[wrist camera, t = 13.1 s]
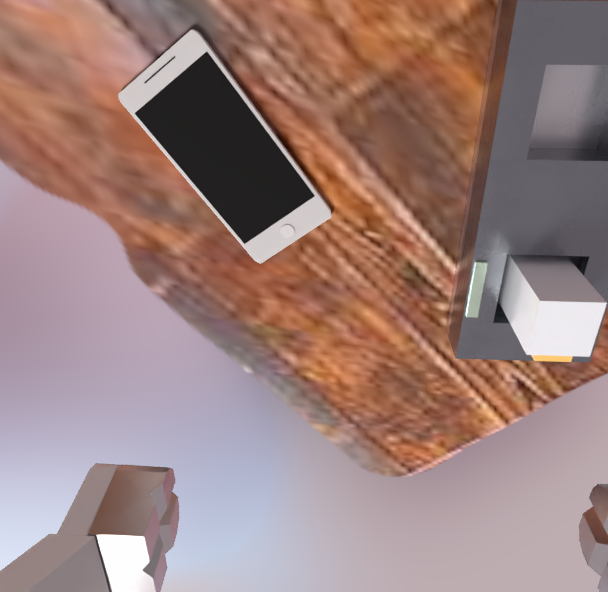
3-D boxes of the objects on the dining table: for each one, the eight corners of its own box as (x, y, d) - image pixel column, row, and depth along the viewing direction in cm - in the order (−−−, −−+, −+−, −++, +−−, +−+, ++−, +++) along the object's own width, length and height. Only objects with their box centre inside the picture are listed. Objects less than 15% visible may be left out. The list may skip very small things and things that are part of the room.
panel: (498, -2, 34) (518, 0, 30) (666, -1, 33) (707, 1, 30) (446, 329, 45) (456, 359, 42) (569, 333, 45) (590, 363, 41)
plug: (504, 246, 41) (539, 300, 34) (559, 247, 40) (607, 302, 33) (492, 303, 43) (523, 365, 36) (545, 304, 43) (586, 366, 36)
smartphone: (259, 260, 44) (258, 266, 43) (119, 94, 38) (114, 96, 37) (334, 211, 41) (334, 215, 40) (196, 25, 36) (193, 26, 35)
